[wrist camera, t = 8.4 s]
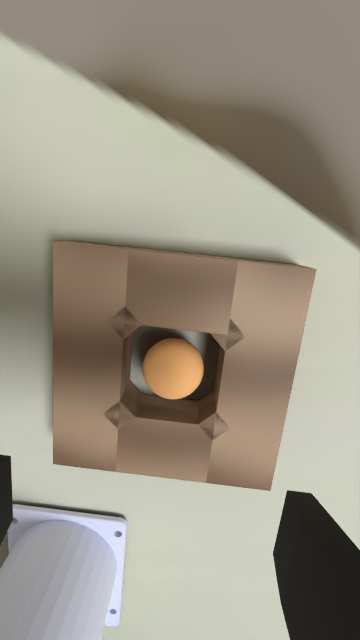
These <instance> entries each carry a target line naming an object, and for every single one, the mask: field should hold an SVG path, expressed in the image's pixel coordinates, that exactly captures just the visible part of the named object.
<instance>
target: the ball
mask: <svg viewBox="0 0 360 640" xmlns="http://www.w3.org/2000/svg"><path fill="white" fill-rule="evenodd" d="M203 370H204V366H203V360H202V357H201V355H200V353H199V351H198V350H197V349H196V348H195V347H194V346H193V345H192V344H191V343H189V342H188V341H186V340H183V339H180V338H167V339H163V340H161V341H159V342H157V343H156V344H154V345H153V346H152V347H151V348H150V349H149V351H148V352H147V354H146V356H145V358H144V362H143V376H144V379H145V381H146V383H147V385H148V387H149V388H150V389H151V390H152V391H153V392H154V393H155V394H157V395H158V396H160V397H163V398H166V399H180V398H183V397H186V396H188V395H190V394H191V393H192V392H193V391H194V390H195V389H196V388H197V387H198V386H199V384H200V382H201V380H202V377H203Z"/></svg>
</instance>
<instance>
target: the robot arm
mask: <svg viewBox="0 0 360 640" xmlns="http://www.w3.org/2000/svg"><path fill="white" fill-rule="evenodd" d="M7 531H8V552H9V555H8V557H7V558H6V560H5V562H4V563H3V565H2V567H1V568H0V640H101V638H102V633H103V629H104V625H106V626H117V625H118V624H119V621H120V614H121V600H122V587H123V573H124V559H125V545H126V531H127V522H126V520H125V519H123V518H120V517H113V516H105V515H97V514H89V513H81V512H74V511H66V510H58V509H50V508H42V507H34V506H26V505H18V504H13V505H12V480H11V456H6V455H0V545H1V543H2V541H3V539H4V537H5V535H6V533H7ZM118 531H120V532H118ZM273 556H274V562H275V569H276V576H277V582H278V588H279V594H280V600H281V605H282V609H283V613H284V617H285V621H286V625H287V629H288V633H289V637H290V640H360V550H359V549H358V548H357V546H356V545H355V544H354V543H353V542H352V541H351V539H350V538H349V537H348V536H347V535H346V534H345V532H344V531H343V530H342V529H341V528H340V526H339V525H338V524H337V523H336V522H335V521H334V519H333V518H332V517H331V516H330V515H329V513H328V512H327V511H326V510H325V509H324V507H323V506H322V505H321V504H320V503H319V502H318V500H317V499H316V498H315V497H314V496H313V495H312V494H311V493H304V492H296V491H288V490H287V494H286V498H285V503H284V507H283V511H282V516H281V520H280V525H279V529H278V534H277V538H276V542H275V547H274V551H273Z"/></svg>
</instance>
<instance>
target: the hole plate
mask: <svg viewBox="0 0 360 640" xmlns="http://www.w3.org/2000/svg"><path fill="white" fill-rule="evenodd" d="M315 273H316V269H313V268H309V267H305V266H301V265H296V264H286V263H277V262H267V261H258V260H248V259H239V258H229V257H220V256H210V255H201V254H191V253H182V252H172V251H163V250H153V249H144V248H134V247H125V246H115V245H106V244H96V243H87V242H77V241H53V464H57V465H65V466H74V467H82V468H90V469H98V470H106V471H114V472H122V473H130V474H138V475H147V476H155V477H163V478H171V479H179V480H187V481H195V482H203V483H211V484H219V485H228V486H236V487H244V488H252V489H260V490H268V491H270V490H271V485H272V480H273V475H274V470H275V466H276V461H277V456H278V451H279V446H280V442H281V437H282V432H283V427H284V422H285V417H286V413H287V408H288V403H289V398H290V393H291V389H292V384H293V379H294V374H295V369H296V365H297V360H298V355H299V350H300V345H301V341H302V336H303V331H304V326H305V321H306V316H307V312H308V307H309V302H310V297H311V292H312V288H313V283H314V278H315ZM141 325H144V326H153V327H162V328H171V329H180V330H189V331H198V332H206V333H210V334H211V335H212V336H213V337H214V338H215V340H216V341H217V342H218V343H219V345H220V349H219V357H218V364H217V371H216V378H215V385H214V390H213V391H211V392H210V393H208V394H207V395H205V396H204V397H203V398H201V399H200V400H198V401H195V400H187V399H166V398H163V397H160V396H152V395H144V394H142V393H141V392H140V391H139V390H138V388H137V387H136V386H135V385H134V384H133V383H132V382H131V381H130V368H131V353H132V337H133V332H134V331H135V330H136V329H138V328H139V327H140V326H141Z"/></svg>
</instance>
